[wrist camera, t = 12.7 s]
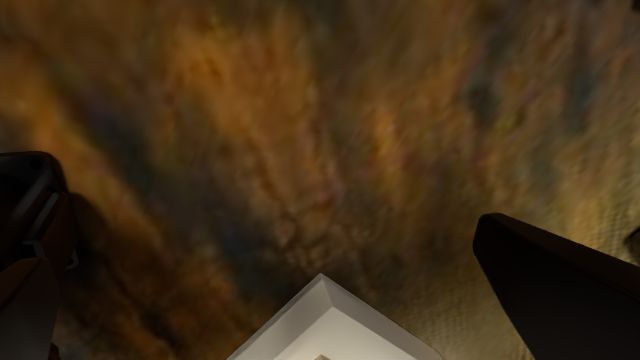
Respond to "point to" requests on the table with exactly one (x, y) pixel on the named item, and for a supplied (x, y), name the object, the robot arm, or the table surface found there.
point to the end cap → (636, 242)
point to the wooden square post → (321, 357)
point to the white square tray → (331, 330)
